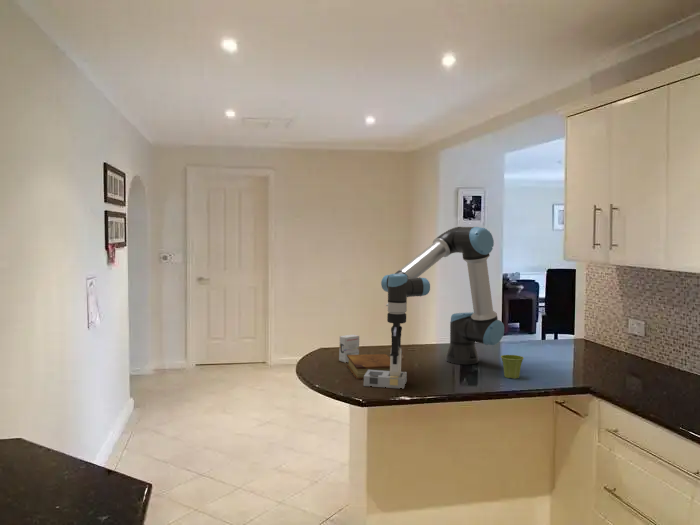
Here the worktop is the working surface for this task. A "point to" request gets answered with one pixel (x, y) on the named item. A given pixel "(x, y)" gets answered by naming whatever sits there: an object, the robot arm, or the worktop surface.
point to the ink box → (348, 347)
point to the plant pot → (512, 365)
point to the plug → (399, 364)
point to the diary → (367, 364)
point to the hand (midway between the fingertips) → (395, 370)
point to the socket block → (384, 379)
